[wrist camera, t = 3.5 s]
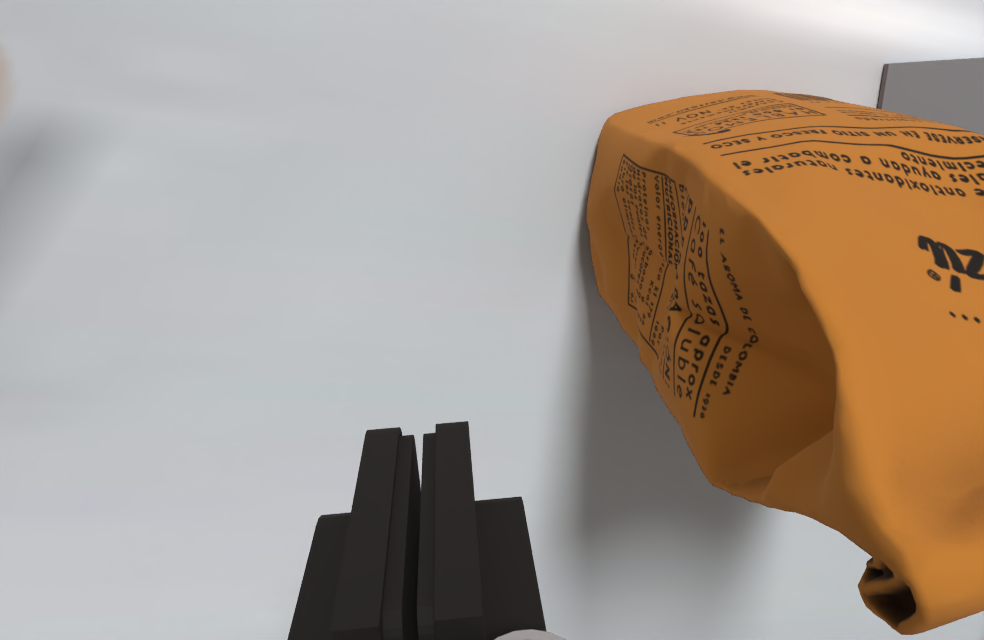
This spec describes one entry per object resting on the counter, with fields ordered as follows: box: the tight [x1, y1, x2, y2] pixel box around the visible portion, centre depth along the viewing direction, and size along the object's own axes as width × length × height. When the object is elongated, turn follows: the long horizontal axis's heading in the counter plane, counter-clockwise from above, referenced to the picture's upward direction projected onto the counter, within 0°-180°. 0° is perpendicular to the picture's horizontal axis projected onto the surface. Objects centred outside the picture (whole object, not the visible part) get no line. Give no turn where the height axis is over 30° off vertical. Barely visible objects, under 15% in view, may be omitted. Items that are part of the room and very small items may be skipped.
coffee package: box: [586, 90, 984, 635], centre depth 19 cm, size 10×12×22 cm
